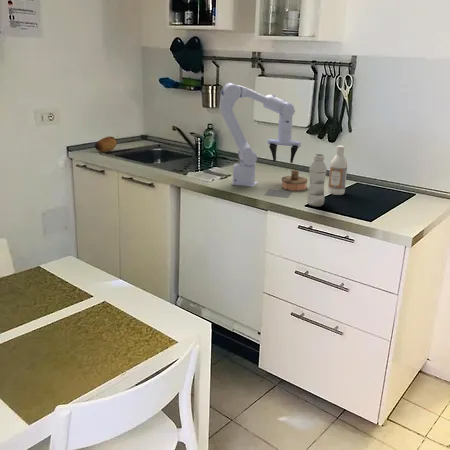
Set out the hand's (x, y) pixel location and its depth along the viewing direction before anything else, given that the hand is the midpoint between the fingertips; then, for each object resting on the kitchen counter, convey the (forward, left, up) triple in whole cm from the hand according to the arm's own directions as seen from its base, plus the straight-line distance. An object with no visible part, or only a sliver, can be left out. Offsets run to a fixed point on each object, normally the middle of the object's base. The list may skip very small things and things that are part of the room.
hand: (283, 161), depth 232 cm
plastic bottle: (+20, -28, -10) cm, 36 cm away
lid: (+7, -7, -6) cm, 12 cm away
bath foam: (+25, -6, -10) cm, 28 cm away
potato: (-105, +27, -10) cm, 109 cm away
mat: (+3, -18, -10) cm, 21 cm away
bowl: (+7, -6, -10) cm, 14 cm away
